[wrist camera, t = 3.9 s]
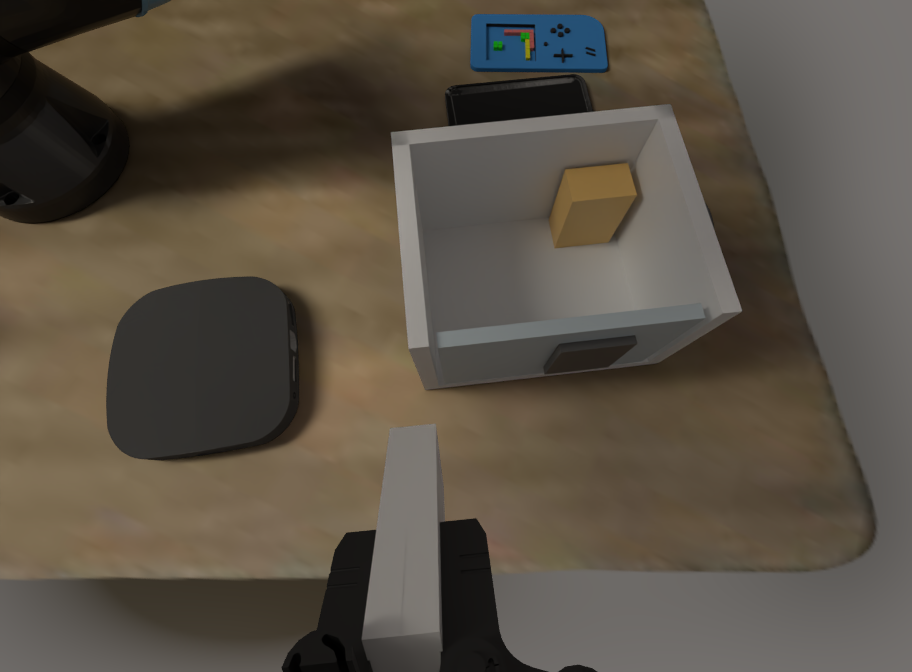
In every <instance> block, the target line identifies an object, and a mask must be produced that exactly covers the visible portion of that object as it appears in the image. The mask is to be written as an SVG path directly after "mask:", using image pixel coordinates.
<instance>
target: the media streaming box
mask: <svg viewBox="0 0 912 672" xmlns="http://www.w3.org/2000/svg"><path fill="white" fill-rule="evenodd" d="M298 403H299V360H298V340H297V327H296V317H295V310H294V307H293V305H292V303H291V301H290V300H289V298H288V297H287V296H286V295H285V294H284V293H283V292H282V291H281V290H280V289H279V288H278V287H277V286H276V285H275V284H273V283H272V282H270V281H268V280H265V279H262V278H259V277H230V278H218V279H209V280H202V281H195V282H189V283H184V284H179V285H174V286H170V287H166V288H162V289H158V290H155V291H152V292H150V293H148V294H147V295H145V296H143V297H142V298H141V299H139V300H138V301H137V302H136V303H134V304H133V305H132V306H131V307H130V308H129V309H128V311H127V312H126V313H125V314H124V316H123V317H122V319H121V320H120V322H119V324H118V326H117V329H116V333H115V337H114V341H113V345H112V350H111V355H110V361H109V369H108V378H107V396H106V409H107V427H108V431H109V434H110V436H111V438H112V440H113V442H114V443H115V445H116V446H117V447H118V448H119V449H120V450H121V451H122V452H123V453H125V454H127V455H129V456H131V457H134V458H138V459H148V460H168V459H177V458H186V457H193V456H201V455H207V454H214V453H220V452H226V451H231V450H236V449H242V448H247V447H251V446H256V445H260V444H265V443H267V442H269V441H271V440H273V439H275V438H276V437H278V436H279V435H280V434H281V433H282V432H283V431H284V430H285V429H286V428H287V427H288V426H289V424H290V423H291V421H292V420H293V418H294V416H295V414H296V411H297V408H298Z"/></svg>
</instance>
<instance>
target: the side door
mask: <svg viewBox="0 0 912 672" xmlns="http://www.w3.org/2000/svg"><path fill="white" fill-rule="evenodd" d="M705 318H706V317H705V314H704V311H703V308H702V305H701V303H697V304H688V305H679V306H670V307H661V308H652V309H643V310H634V311H625V312H616V313H607V314H598V315H589V316H580V317H571V318H562V319H553V320H544V321H535V322H526V323H517V324H508V325H499V326H490V327H481V328H472V329H463V330H454V331H445V332H436V335H437V345H438V352H439V357H440V363H441V368H442V373H443V379H444V384H448V383H457V382H466V381H475V380H484V379H492V378H501V377H510V376H519V375H527V374H536V373H544V374H554V373H562V372H571V371H580V370H589V369H597V368H606V367H609V366H610V365H615V364H624V363H633V362H641V361H643V360H645V359H646V358H648V357H649V356H651V355H652V354H654V353H655V352H657V351H658V350H660V349H661V348H662V347H664V346H665V345H667V344H668V343H670V342H671V341H673V340H674V339H676V338H677V337H679V336H680V335H682V334H683V333H685V332H686V331H687V330H689V329H690V328H692V327H693V326H695V325H696V324H698V323H699V322H701V321H702V320H704V319H705Z"/></svg>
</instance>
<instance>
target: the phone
mask: <svg viewBox="0 0 912 672" xmlns="http://www.w3.org/2000/svg"><path fill="white" fill-rule="evenodd" d="M445 100H446V108H447V116H448V124H449V126H458V125H468V124H478V123H488V122H498V121H508V120H517V119H527V118H537V117H547V116H557V115H567V114H577V113H587V112H593V110H592V106H591V102H590V98H589V95H588V91H587V87H586V83H585V80H584V79H583V78H582V77H581V76H579V75H576V74H571V75H561V76H550V77H539V78H529V79H518V80H507V81H497V82H486V83H475V84H465V85H455V86H451V87H449V88H448V89H447V90H446V92H445Z"/></svg>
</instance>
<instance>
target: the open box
mask: <svg viewBox="0 0 912 672" xmlns="http://www.w3.org/2000/svg"><path fill="white" fill-rule="evenodd" d="M391 140H392V152H393V164H394V177H395V189H396V201H397V213H398V225H399V238H400V250H401V262H402V274H403V287H404V299H405V311H406V323H407V336H408V348H409V351H410V353H411V356H412V358H413V361H414V363H415V366H416V368H417V371H418V373H419V376H420V378H421V381H422V383H423V386H424V388H425V390H430V389H438V388H447V387H456V386H465V385H473V384H482V383H491V382H500V381H508V380H517V379H526V378H535V377H543V376H552V375H561V374H570V373H578V372H587V371H596V370H605V369H613V368H622V367H631V366H640V365H648V364H657V363H659V362H661V361H662V360H664V359H666V358H667V357H669V356H671V355H672V354H674V353H675V352H677V351H679V350H680V349H682V348H684V347H685V346H687V345H688V344H690V343H692V342H693V341H695V340H697V339H698V338H700V337H701V336H703V335H705V334H706V333H708V332H710V331H711V330H713V329H714V328H716V327H718V326H719V325H721V324H723V323H724V322H726V321H727V320H729V319H731V318H732V317H734V316H736V315H737V314H739V313H740V312H742V309H741V306H740V303H739V300H738V297H737V294H736V291H735V288H734V286H733V283H732V280H731V277H730V274H729V271H728V268H727V265H726V262H725V260H724V257H723V254H722V251H721V248H720V245H719V242H718V239H717V237H716V234H715V231H714V225H713V220H712V216H711V213H710V210H709V208H708V206H707V205H706V203H705V202H704V199H703V196H702V193H701V190H700V188H699V185H698V182H697V179H696V176H695V173H694V170H693V167H692V164H691V162H690V159H689V156H688V153H687V150H686V147H685V144H684V141H683V139H682V136H681V133H680V130H679V127H678V124H677V121H676V118H675V115H674V113H673V110H672V107H671V104H666V105H656V106H646V107H636V108H626V109H617V110H607V111H597V112H587V113H577V114H567V115H557V116H547V117H537V118H527V119H517V120H508V121H498V122H488V123H478V124H468V125H458V126H448V127H438V128H428V129H418V130H409V131H399V132H391ZM697 303H701V305H702V308H703V311H704V314H705V317H706V318H705V319H704V320H702V321H701V322H699V323H698V324H696V325H695V326H693V327H692V328H690V329H689V330H687V331H686V332H685V333H683V334H682V335H680V336H679V337H677V338H676V339H674V340H673V341H671V342H670V343H668V344H667V345H665V346H664V347H662V348H661V349H660V350H658V351H657V352H655V353H654V354H652V355H651V356H649V357H648V358H646V359H645V360H643V361H641V362H633V363H624V364H615V365H610V366H609V367H606V368H597V369H589V370H580V371H571V372H562V373H554V374H544V373H536V374H527V375H519V376H510V377H501V378H492V379H484V380H475V381H466V382H457V383H448V384H444V379H443V373H442V368H441V363H440V357H439V352H438V345H437V335H436V332H445V331H454V330H463V329H472V328H481V327H490V326H499V325H508V324H517V323H526V322H535V321H544V320H553V319H562V318H571V317H580V316H589V315H598V314H607V313H616V312H625V311H634V310H643V309H652V308H661V307H670V306H679V305H688V304H697Z"/></svg>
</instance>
